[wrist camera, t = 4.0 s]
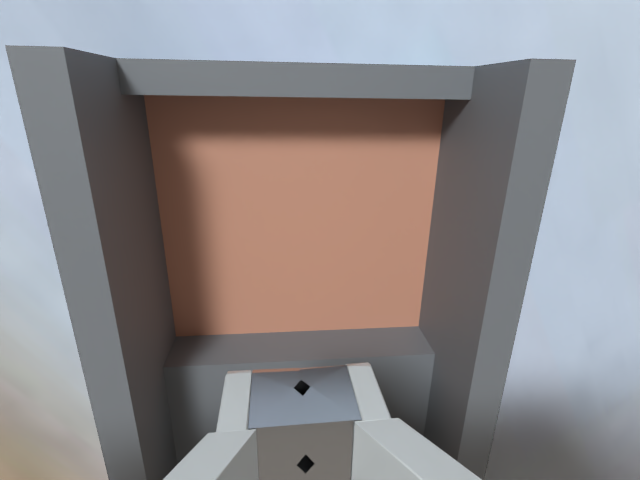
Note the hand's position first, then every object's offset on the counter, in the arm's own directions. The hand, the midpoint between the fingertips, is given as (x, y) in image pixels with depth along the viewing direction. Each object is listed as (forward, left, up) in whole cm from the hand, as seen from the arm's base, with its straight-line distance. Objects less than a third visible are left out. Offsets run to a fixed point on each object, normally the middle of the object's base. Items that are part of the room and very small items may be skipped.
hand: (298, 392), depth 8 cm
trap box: (0, +8, -9) cm, 12 cm away
